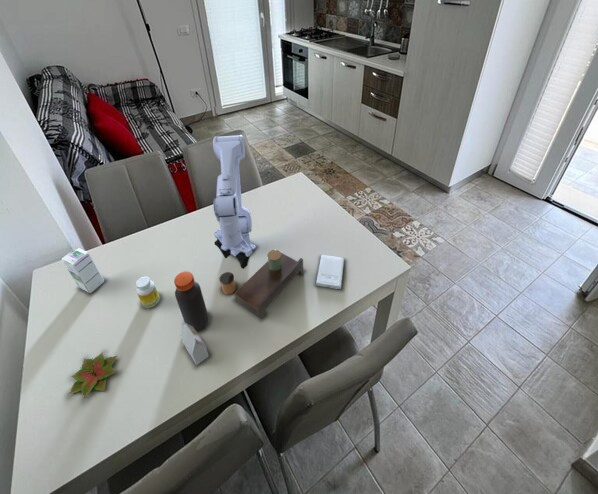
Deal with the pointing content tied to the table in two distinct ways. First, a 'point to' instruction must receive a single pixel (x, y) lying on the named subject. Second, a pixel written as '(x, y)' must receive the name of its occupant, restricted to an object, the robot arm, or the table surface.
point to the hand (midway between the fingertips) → (236, 261)
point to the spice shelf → (267, 285)
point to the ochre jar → (227, 283)
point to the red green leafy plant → (93, 374)
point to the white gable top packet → (194, 344)
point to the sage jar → (274, 260)
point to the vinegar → (191, 301)
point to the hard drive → (330, 272)
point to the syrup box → (83, 270)
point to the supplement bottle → (147, 292)
